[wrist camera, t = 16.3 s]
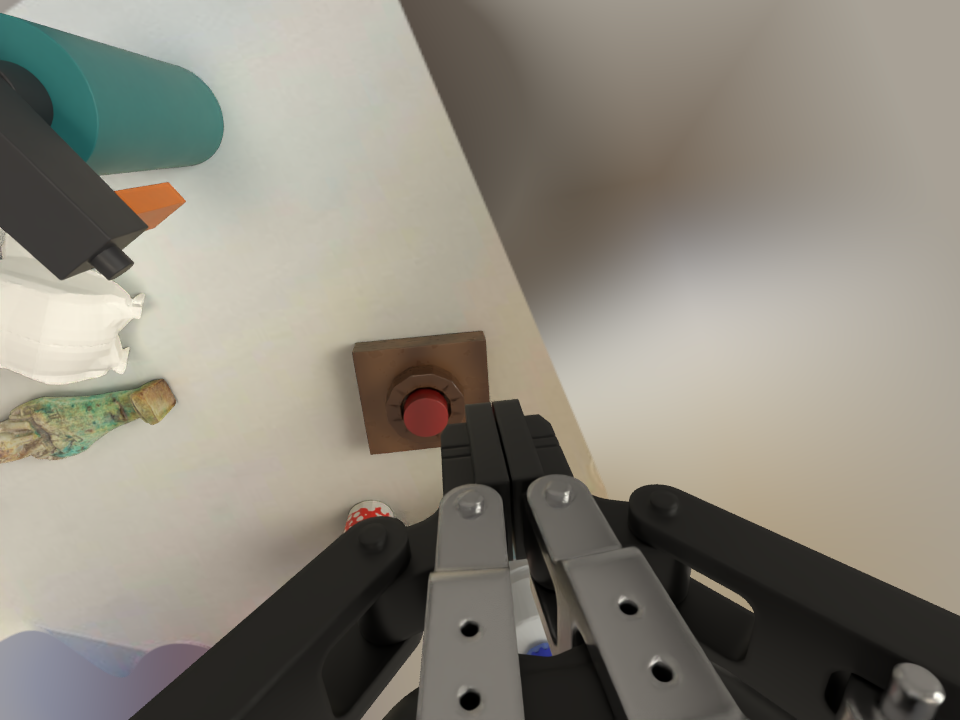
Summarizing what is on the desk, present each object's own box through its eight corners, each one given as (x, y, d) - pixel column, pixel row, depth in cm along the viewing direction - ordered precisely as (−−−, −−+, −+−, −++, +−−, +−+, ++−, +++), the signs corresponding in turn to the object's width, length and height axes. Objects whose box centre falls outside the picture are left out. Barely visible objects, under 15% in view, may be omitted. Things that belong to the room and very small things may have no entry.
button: (445, 386, 41) (446, 396, 40) (449, 423, 43) (450, 434, 41) (401, 390, 41) (400, 400, 40) (407, 428, 43) (406, 439, 41)
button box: (482, 330, 44) (488, 347, 40) (489, 428, 48) (494, 452, 44) (355, 342, 43) (349, 361, 39) (372, 441, 47) (368, 466, 43)
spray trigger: (135, 209, 26) (75, 223, 22) (168, 181, 26) (114, 190, 21) (154, 228, 27) (98, 246, 22) (186, 201, 26) (137, 214, 22)
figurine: (189, 428, 44) (169, 452, 41) (14, 455, 44) (-22, 482, 40) (166, 372, 42) (142, 393, 39) (-20, 401, 42) (-60, 424, 38)
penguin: (152, 263, 41) (-116, 189, 33) (144, 308, 35) (-192, 231, 26) (128, 350, 44) (-127, 303, 35) (116, 406, 38) (-198, 366, 29)
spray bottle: (103, 102, 34) (-265, 60, 16) (171, 41, 33) (-137, -79, 15) (227, 237, 38) (49, 325, 20) (290, 186, 37) (164, 231, 19)
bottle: (461, 499, 51) (483, 701, 32) (506, 455, 49) (556, 641, 31) (509, 530, 53) (554, 735, 35) (554, 489, 51) (625, 681, 33)
